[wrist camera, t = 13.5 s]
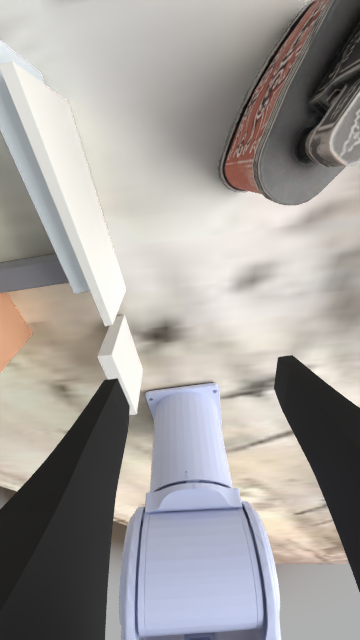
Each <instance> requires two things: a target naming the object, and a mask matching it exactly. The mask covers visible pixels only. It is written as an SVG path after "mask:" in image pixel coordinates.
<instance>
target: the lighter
mask: <svg viewBox="0 0 360 640" xmlns="http://www.w3.org/2000/svg"><path fill="white" fill-rule="evenodd" d="M358 163H360V0H311V1H310V2H309V3H308V4H307V5H306V6H305V7H304V8H303V9H302V10H301V11H300V13H299V14H298V15H297V16H296V18H295V19H294V20H293V22H292V23H291V24H290V26H289V27H288V29H287V30H286V32H285V33H284V34H283V36H282V37H281V39H280V40H279V41H278V43H277V44H276V46H275V47H274V48H273V50H272V51H271V53H270V54H269V56H268V57H267V59H266V61H265V62H264V64H263V66H262V67H261V69H260V71H259V73H258V74H257V76H256V78H255V79H254V81H253V83H252V85H251V86H250V88H249V90H248V91H247V93H246V95H245V98H244V100H243V102H242V104H241V106H240V109H239V111H238V113H237V115H236V118H235V120H234V122H233V124H232V126H231V129H230V132H229V134H228V137H227V140H226V143H225V146H224V149H223V152H222V155H221V158H220V161H219V167H218V170H219V177H220V179H221V181H222V183H223V184H224V185H225V186H226V187H227V188H228V189H231V190H233V191H236V192H248V191H251V192H255V193H260V194H263V196H264V197H265V198H267V199H269V200H271V201H273V202H276V203H279V204H283V205H299V204H302V203H305V202H308V201H309V200H311V199H312V198H313V197H315V196H316V195H318V194H319V193H320V192H321V191H322V190H323V189H324V188H325V187H326V186H327V185H328V184H329V183H330V182H331V181H332V180H333V179H334V178H335V177H336V176H337V175H338V174H339V173H340V172H341V171H342V170H343V169H344V168H345V167H346V166H355V165H356V164H358Z"/></svg>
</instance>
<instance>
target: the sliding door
mask: <svg viewBox="0 0 360 640" xmlns="http://www.w3.org/2000/svg"><path fill="white" fill-rule="evenodd" d="M10 61H13V62H14V63H16V64H17V65H18V66H20V67H21V68H23V69H24V70H25V71H27V72H28V73H30V74H31V75H32V76H34V77H35V78H37V79H38V80H39V81H41V82H42V83H44V80H43V77H42V74H41V72H40V71H39V70H38V69H37V68H35V67H34V66H33V65H31V64H30V63H29V62H28V61H26V60H25V59H24V58H23V57H21V56H20V55H19V54H17V53H16V52H15V51H14V50H12V49H11V48H10V47H9V46H7V45H6V44H5V43H3V42H2V41H1V40H0V63H5V62H10ZM44 84H45V83H44ZM0 131H1V133H2V135H3V137H4V140H5V142H6V144H7V146H8V148H9V151H10V153H11V155H12V157H13V160H14V162H15V164H16V166H17V168H18V171H19V173H20V175H21V177H22V179H23V182H24V184H25V186H26V188H27V190H28V193H29V195H30V197H31V199H32V201H33V204H34V206H35V208H36V210H37V212H38V215H39V217H40V219H41V221H42V223H43V226H44V228H45V230H46V232H47V234H48V237H49V239H50V241H51V243H52V246H53V248H54V250H55V252H56V254H51V255H45V256H38V257H32V258H26V259H20V260H13V261H7V262H1V263H0V293H4V292H10V291H17V290H23V289H30V288H36V287H43V286H49V285H56V284H62V283H70V285H71V287H72V290H73V292H74V294H75V293H82V292H88V291H90V289H89V286H88V284H87V281H86V279H85V277H84V274H83V272H82V269H81V267H80V264H79V262H78V259H77V257H76V254H75V252H74V249H73V247H72V245H71V242H70V240H69V237H68V235H67V232H66V230H65V227H64V225H63V222H62V220H61V217H60V215H59V212H58V210H57V208H56V205H55V203H54V200H53V198H52V195H51V193H50V190H49V188H48V185H47V183H46V180H45V178H44V176H43V173H42V171H41V168H40V166H39V163H38V161H37V158H36V156H35V153H34V151H33V148H32V146H31V144H30V141H29V139H28V136H27V134H26V131H25V129H24V126H23V124H22V121H21V119H20V116H19V114H18V112H17V109H16V107H15V104H14V102H13V99H12V97H11V94H10V92H9V89H8V87H7V84H6V82H5V80H4V77H3V75H2V72H1V70H0Z"/></svg>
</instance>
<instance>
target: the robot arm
mask: <svg viewBox="0 0 360 640" xmlns="http://www.w3.org/2000/svg"><path fill="white" fill-rule="evenodd" d="M274 389H275V392H276V395H277V398H278V400H279V403H280V406H281V408H282V411H283V413H284V415H285V417H286V419H287V421H288V423H289V425H290V427H291V428H292V430H293V432H294V434H295V436H296V438H297V440H298V442H299V444H300V446H301V448H302V450H303V452H304V454H305V456H306V458H307V460H308V462H309V464H310V466H311V468H312V470H313V472H314V474H315V476H316V479H317V481H318V484H319V486H320V489H321V491H322V493H323V496H324V498H325V501H326V503H327V506H328V508H329V511H330V513H331V516H332V518H333V521H334V524H335V526H336V529H337V531H338V534H339V537H340V539H341V542H342V545H343V547H344V550H345V553H346V555H347V558H348V561H349V564H350V566H351V569H352V571H353V575H354V577H355V580H356V583H357V586H358V589H359V592H360V408H359V407H357V406H356V405H355V404H353V403H352V402H351V401H349V400H348V399H347V398H345V397H344V396H343V395H341V394H340V393H339V392H337V391H336V390H335V389H333V388H332V387H331V386H330V385H328V384H327V383H326V382H324V381H323V380H322V379H321V378H319V377H318V376H317V375H316V374H315V373H313V372H312V371H311V370H310V369H308V368H307V367H306V366H305V365H304V364H302V363H301V362H300V361H299V360H297V359H296V358H295V357H294V356H292V355H291V356H284V357H278V362H277V370H276V377H275V385H274ZM145 397H146V400H147V403H148V406H149V408H150V411H151V414H152V417H153V420H154V434H153V450H152V466H151V482H150V492H148V493H146V502H145V506H144V507H138V508H137V509H136V511H135V513H134V514H133V515H132V517H131V518H130V520H129V523H128V527H127V531H126V537H125V543H124V549H123V556H122V566H121V577H120V592H119V617H120V624H121V640H281V634H280V622H279V611H280V595H279V586H278V579H277V573H276V568H275V563H274V559H273V554H272V550H271V547H270V543H269V540H268V536H267V533H266V530H265V528H264V525H263V523H262V520H261V518H260V516H259V515H258V513H257V512H256V511H255V510H254V509H253V508H252V506H251V505H250V504H249V503H248V502H246V501H241V498H240V493H239V489H238V488H233V486H232V481H231V476H230V471H229V466H228V461H227V456H226V451H225V446H224V441H223V436H222V424H221V410H220V396H219V386H218V384H217V383H208V384H200V385H193V386H185V387H177V388H169V389H161V390H154V391H148V392H146V394H145ZM129 411H130V405H129V403H128V401H127V399H126V396H125V394H124V392H123V389H122V387H121V385H120V382H119V380H118V378H116V379H109V380H104V382H103V383H102V384H101V386H100V387H99V389H98V390H97V392H96V393H95V395H94V396H93V397H92V399H91V400H90V402H89V403H88V405H87V406H86V408H85V409H84V411H83V412H82V413H81V415H80V416H79V417H78V419H77V420H76V422H75V423H74V424H73V426H72V427H71V429H70V430H69V431H68V432H67V434H66V435H65V436H64V438H63V439H62V440H61V442H60V443H59V444H58V445H57V447H56V448H55V449H54V450H53V452H52V453H51V454H50V455H49V457H48V458H47V459H46V460H45V461H44V463H43V464H42V465H41V466H40V467H39V468H38V470H37V471H36V472H35V473H34V474H33V475H32V476H31V478H30V479H29V480H28V481H27V482H26V483H25V484H24V485H23V486H22V487H21V488H20V489H19V490H18V492H17V493H16V494H15V495H14V496H13V497H12V498H11V499H10V500H9V501H8V502H7V503H6V504H5V505H4V506H3V507H2V508H1V509H0V640H105V624H106V605H107V587H108V573H109V559H110V547H111V535H112V525H113V516H114V506H115V497H116V491H117V484H118V479H119V474H120V469H121V464H122V458H123V453H124V448H125V443H126V438H127V432H128V424H129Z"/></svg>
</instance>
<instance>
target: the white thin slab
mask: <svg viewBox="0 0 360 640" xmlns="http://www.w3.org/2000/svg"><path fill="white" fill-rule="evenodd" d="M0 70H1V72H2V75H3V77H4V80H5V82H6V84H7V87H8V89H9V92H10V94H11V97H12V99H13V102H14V104H15V107H16V109H17V112H18V114H19V116H20V119H21V121H22V124H23V126H24V129H25V131H26V134H27V136H28V139H29V141H30V144H31V146H32V148H33V151H34V153H35V156H36V158H37V161H38V163H39V166H40V168H41V171H42V173H43V176H44V178H45V180H46V183H47V185H48V188H49V190H50V193H51V195H52V198H53V200H54V203H55V205H56V208H57V210H58V212H59V215H60V217H61V220H62V222H63V225H64V227H65V230H66V232H67V235H68V237H69V240H70V242H71V245H72V247H73V249H74V252H75V254H76V257H77V259H78V262H79V264H80V267H81V269H82V272H83V274H84V277H85V279H86V281H87V284H88V286H89V289H90V291H91V294H92V296H93V299H94V301H95V304H96V306H97V309H98V311H99V313H100V316H101V318H102V321H103V323H104V326H109V328H108V330H107V333H106V336H105V338H104V341H103V343H102V346H101V348H100V351H99V353H98V356H97V358H98V360H99V362H100V364H101V366H102V368H103V370H104V372H105V375H106V377H107V379H108V380H109V379H116V378H118V380H119V382H120V385H121V387H122V389H123V392H124V394H125V396H126V399H127V401H128V403H129V405H130V411H129V415H135V414H137V409H138V401H139V394H140V387H141V380H142V372H143V369H142V366H141V363H140V360H139V357H138V354H137V351H136V348H135V345H134V342H133V339H132V336H131V333H130V330H129V327H128V324H127V321H126V318H125V315H121V316H116V315H117V312H118V310H119V307H120V304H121V302H122V299H123V296H124V294H125V291H126V287H125V284H124V281H123V278H122V274H121V271H120V268H119V265H118V261H117V258H116V255H115V251H114V248H113V245H112V242H111V238H110V235H109V232H108V229H107V225H106V222H105V219H104V216H103V212H102V209H101V206H100V203H99V199H98V196H97V193H96V190H95V186H94V183H93V180H92V176H91V173H90V170H89V167H88V163H87V160H86V157H85V154H84V150H83V147H82V144H81V141H80V137H79V134H78V131H77V128H76V124H75V121H74V118H73V115H72V111H71V108H70V105H69V101H68V100H66V99H65V98H63V97H62V96H61V95H59V94H58V93H56V92H55V91H54V90H52V89H51V88H49V87H48V86H47V85H45V84H44V83H42V82H41V81H39V80H38V79H37V78H35V77H34V76H32V75H31V74H30V73H28V72H27V71H25V70H24V69H23V68H21V67H20V66H18V65H17V64H16V63H14V62H13V61H10V62H5V63H0Z"/></svg>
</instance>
